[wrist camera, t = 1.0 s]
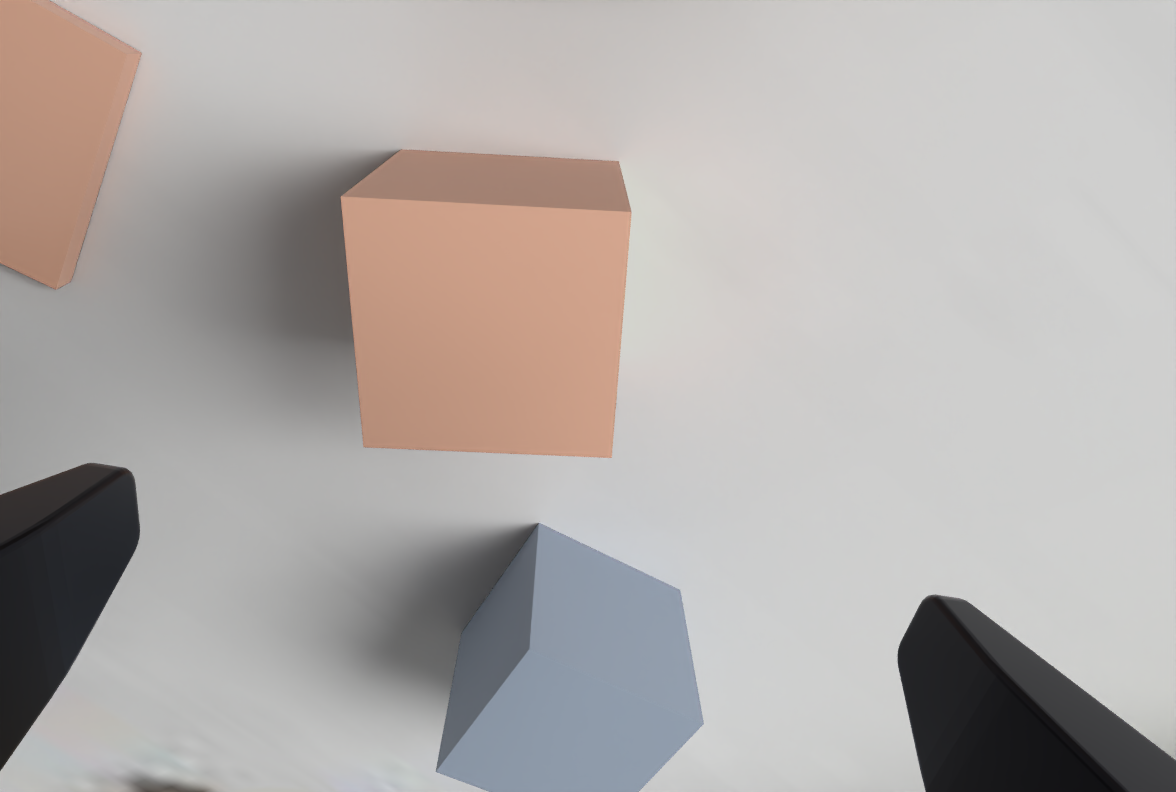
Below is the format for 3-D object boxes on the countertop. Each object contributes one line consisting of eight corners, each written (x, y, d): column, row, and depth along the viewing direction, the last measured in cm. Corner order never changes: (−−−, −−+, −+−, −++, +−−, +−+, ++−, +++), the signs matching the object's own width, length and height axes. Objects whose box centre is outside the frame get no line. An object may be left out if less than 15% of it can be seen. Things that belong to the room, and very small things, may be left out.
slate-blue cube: (462, 631, 24) (435, 771, 20) (538, 521, 22) (529, 649, 18) (595, 688, 25) (599, 832, 21) (680, 587, 23) (703, 723, 19)
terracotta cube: (412, 348, 20) (363, 447, 15) (402, 149, 17) (340, 196, 13) (604, 357, 20) (611, 457, 15) (618, 160, 18) (631, 212, 13)
